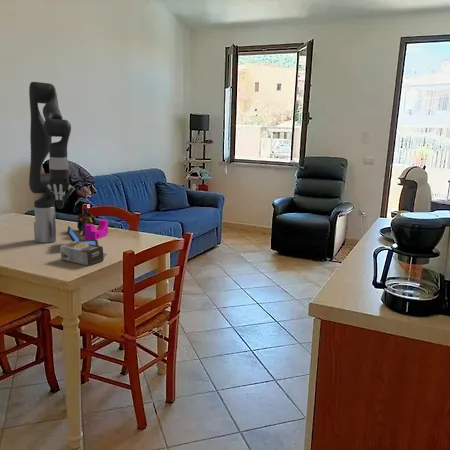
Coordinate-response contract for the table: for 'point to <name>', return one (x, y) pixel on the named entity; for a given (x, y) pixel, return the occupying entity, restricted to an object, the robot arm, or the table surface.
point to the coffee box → (82, 253)
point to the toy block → (99, 232)
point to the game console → (75, 238)
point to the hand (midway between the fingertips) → (60, 208)
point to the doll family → (84, 220)
